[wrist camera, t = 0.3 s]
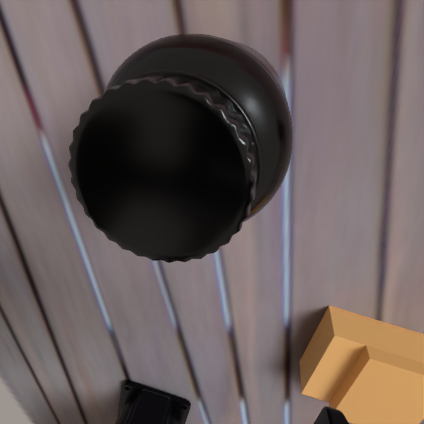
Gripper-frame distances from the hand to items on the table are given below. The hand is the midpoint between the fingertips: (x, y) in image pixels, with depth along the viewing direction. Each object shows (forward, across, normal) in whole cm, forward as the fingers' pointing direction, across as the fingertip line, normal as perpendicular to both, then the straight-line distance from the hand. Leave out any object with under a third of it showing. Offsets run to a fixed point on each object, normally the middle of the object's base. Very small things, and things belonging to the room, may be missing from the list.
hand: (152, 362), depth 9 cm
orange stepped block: (+14, -13, +10) cm, 21 cm away
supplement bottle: (+14, +1, -5) cm, 14 cm away
